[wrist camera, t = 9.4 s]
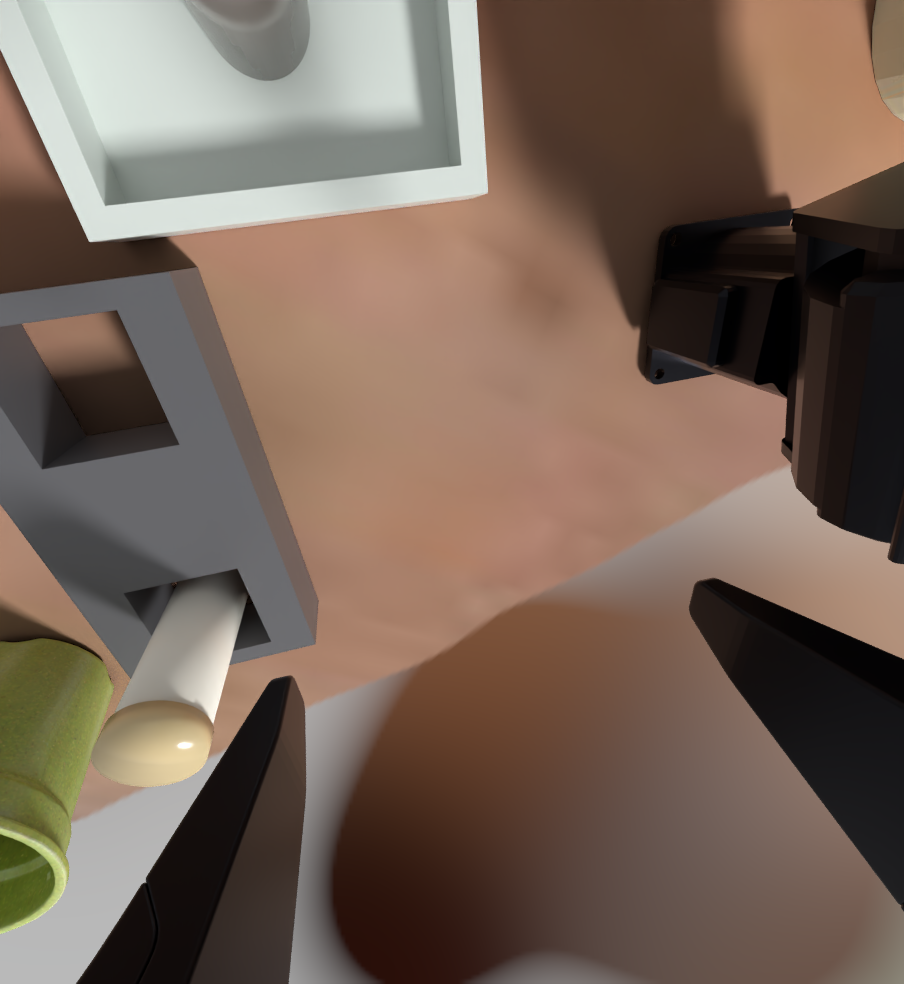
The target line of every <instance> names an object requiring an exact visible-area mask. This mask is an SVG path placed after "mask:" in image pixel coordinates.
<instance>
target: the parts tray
mask: <svg viewBox="0 0 904 984" xmlns="http://www.w3.org/2000/svg"><path fill="white" fill-rule="evenodd" d="M307 1H308V8H309V15H310V36H309V43H308V46H307V50H306V53H305V55H304V57H303V59H302V61H301V62H300V64H299V65H298V67H297V68H296V69H295V70H294V71H293V72H292V73H290V74H289V75H287V76H286V77H284V78H281V79H278V80H273V81H263V80H257V79H254V78H251V77H249V76H246V75H244V74H242V73H241V72H239V71H238V70H236V69H235V68H234V67H232V66H231V65H230V64H229V63H228V62H227V61H226V60H225V59H224V58H223V57H222V56H221V55H220V53H219V52H218V51H217V50H216V48H215V47H214V45H213V44H212V42H211V41H210V39H209V38H208V36H207V35H206V33H205V32H204V30H203V29H202V27H201V26H200V24H199V23H198V21H197V20H196V18H195V16H194V15H193V13H192V12H191V10H190V9H189V7H188V6H187V4H186V3H185V1H184V0H0V50H1V52H2V54H3V56H4V58H5V60H6V63H7V65H8V67H9V69H10V71H11V73H12V76H13V78H14V80H15V82H16V84H17V86H18V89H19V91H20V93H21V95H22V97H23V99H24V102H25V104H26V106H27V108H28V110H29V112H30V115H31V117H32V119H33V121H34V123H35V125H36V128H37V130H38V132H39V134H40V136H41V138H42V141H43V143H44V145H45V147H46V149H47V151H48V154H49V156H50V158H51V160H52V162H53V164H54V167H55V169H56V171H57V173H58V175H59V177H60V180H61V182H62V184H63V186H64V188H65V190H66V193H67V195H68V197H69V199H70V201H71V203H72V206H73V208H74V210H75V212H76V214H77V216H78V219H79V221H80V223H81V225H82V227H83V229H84V232H85V234H86V236H87V238H88V240H89V242H128V241H136V240H144V239H152V238H160V237H168V236H176V235H184V234H192V233H200V232H209V231H217V230H225V229H233V228H241V227H249V226H257V225H265V224H273V223H281V222H289V221H297V220H305V219H313V218H321V217H329V216H338V215H346V214H354V213H362V212H370V211H378V210H386V209H394V208H402V207H410V206H418V205H426V204H434V203H442V202H450V201H459V200H467V199H472V198H475V197H478V196H481V195H484V194H487V193H488V185H487V168H486V152H485V135H484V118H483V102H482V85H481V68H480V52H479V35H478V19H477V2H476V0H307Z"/></svg>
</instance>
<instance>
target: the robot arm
mask: <svg viewBox="0 0 904 984" xmlns="http://www.w3.org/2000/svg"><path fill="white" fill-rule="evenodd" d="M792 218H793V219H792ZM791 219H792V224H791V226H790V221H791ZM673 234H675V235H676V240H675V242H674V244H673V245H671V241H670V240H671V237H672V235H673ZM647 344H648V348H647V357H646V366H645V378H646V380H647V381H649V382H651V383H653V384H663V383H668V382H674V381H679V380H684V379H689V378H695V377H700V376H705V375H711V374H718V375H721V376H724V377H727V378H729V379H732V380H735V381H738V382H741V383H744V384H746V385H749V386H752V387H755V388H758V389H761V390H764V391H766V392H769V393H772V394H775V395H778V396H781V397H784V398H786V399H787V413H786V431H785V438H783V439H782V446H781V452H782V454H783V455H784V456H785V457H786V458H787V459H788V460H789V461H790V462H791V464H792V466H791V472H792V475H793V478H794V482H795V485H796V488H797V489H798V490H799V491H800V492H802V494H803V495H804V496H805V497H806V498H807V499H808V500H809V501H810V502H811V503H812V504H813V505H814V506H816V507H817V515H818V516H819V517H820V518H822V519H824V520H826V521H827V522H829V523H831V524H833V525H835V526H837V527H839V528H841V529H844V530H846V531H849V532H852V533H855V534H858V535H861V536H864V537H867V538H870V539H873V540H876V541H880V542H885V543H890V544H891V545H890V549H889V553H888V559H889V560H891V561H892V562H894V563H898V564H904V162H903V163H901V164H898V165H896V166H894V167H891V168H889V169H887V170H885V171H882V172H880V173H878V174H876V175H873V176H871V177H869V178H867V179H864V180H862V181H860V182H858V183H855V184H853V185H851V186H849V187H846V188H844V189H842V190H840V191H837V192H835V193H833V194H830V195H828V196H826V197H824V198H821V199H819V200H817V201H815V202H812V203H810V204H808V205H806V206H803V207H801V208H795V209H786V210H779V211H771V212H764V213H757V214H750V215H743V216H736V217H729V218H721V219H714V220H707V221H700V222H693V223H686V224H679V225H672V226H669V227H667V228H666V229H665V230H664V231H663V232H662V234H661V236H660V239H659V246H658V255H657V264H656V273H655V283H654V285H653V288H652V297H651V307H650V316H649V325H648V335H647ZM658 369H659V373H658V375H657V376H654V375H655V372H656V371H657V370H658ZM689 611H690V615H691V617H692V619H693V621H694V622H695V624H696V626H697V627H698V629H699V630H700V632H701V634H702V635H703V637H704V639H705V640H706V642H707V644H708V645H709V647H710V648H711V650H712V652H713V653H714V655H715V656H716V658H717V660H718V661H719V663H720V665H721V666H722V668H723V669H724V671H725V672H726V674H727V675H728V677H729V678H730V680H731V681H732V683H733V684H734V685H735V687H736V688H737V690H738V691H739V692H740V694H741V695H742V696H743V697H744V699H745V700H746V702H747V703H748V704H749V706H750V707H751V708H752V709H753V711H754V712H755V713H756V715H757V716H758V717H759V719H760V720H761V721H762V723H763V724H764V725H765V727H766V728H767V729H768V731H769V732H770V733H771V735H772V736H773V737H774V739H775V740H776V741H777V742H778V744H779V745H780V747H781V748H782V749H783V751H784V752H785V753H786V755H787V756H788V757H789V759H790V760H791V761H792V763H793V764H794V765H795V767H796V768H797V769H798V771H799V772H800V773H801V775H802V776H803V777H804V778H805V780H806V781H807V783H808V784H809V785H810V787H811V788H812V789H813V791H814V792H815V793H816V795H817V796H818V797H819V798H820V800H821V801H822V803H823V804H824V805H825V807H826V808H827V809H828V810H829V812H830V813H831V814H832V816H833V817H834V819H835V820H836V821H837V823H838V824H839V825H840V827H841V828H842V829H843V831H844V832H845V833H846V835H847V836H848V837H849V839H850V840H851V841H852V843H853V844H854V845H855V847H856V848H857V849H858V851H859V852H860V853H861V855H862V856H863V857H864V858H865V860H866V861H867V862H868V864H869V865H870V866H871V868H872V869H873V871H874V872H875V873H876V875H877V876H878V877H879V879H880V880H881V881H882V882H883V884H884V885H885V886H886V888H887V889H888V891H889V892H890V893H891V895H892V896H893V897H894V899H895V900H896V901H897V902H898V904H900V905H901V908H902V910H903V911H904V659H902V658H900V657H897V656H895V655H893V654H890V653H888V652H885V651H883V650H881V649H879V648H876V647H874V646H872V645H869V644H867V643H865V642H862V641H860V640H858V639H856V638H853V637H851V636H849V635H846V634H844V633H842V632H839V631H837V630H835V629H832V628H830V627H828V626H826V625H823V624H821V623H818V622H816V621H814V620H812V619H809V618H807V617H805V616H802V615H800V614H798V613H795V612H793V611H791V610H788V609H786V608H784V607H781V606H779V605H777V604H775V603H772V602H770V601H768V600H765V599H763V598H761V597H758V596H756V595H754V594H751V593H749V592H747V591H745V590H742V589H740V588H738V587H735V586H733V585H730V584H728V583H726V582H723V581H721V580H719V579H716V578H709V579H704V580H700V581H697V582H696V583H695V585H694V588H693V593H692V597H691V601H690V605H689ZM305 738H306V737H305V706H304V701H303V698H302V696H301V693H300V691H299V688H298V686H297V683H296V681H295V679H294V677H293V676H285V677H280V678H276V679H273V680H271V681H270V682H269V684H268V685H267V687H266V688H265V690H264V692H263V693H262V695H261V696H260V698H259V699H258V701H257V703H256V704H255V706H254V707H253V709H252V711H251V712H250V714H249V715H248V717H247V718H246V720H245V722H244V723H243V725H242V726H241V728H240V730H239V731H238V733H237V734H236V736H235V737H234V739H233V741H232V742H231V744H230V745H229V747H228V749H227V750H226V752H225V753H224V755H223V757H222V758H221V760H220V761H219V763H218V764H217V766H216V768H215V769H214V771H213V772H212V774H211V776H210V777H209V779H208V780H207V782H206V783H205V785H204V787H203V788H202V790H201V791H200V793H199V795H198V796H197V798H196V799H195V801H194V802H193V804H192V806H191V807H190V809H189V810H188V812H187V814H186V815H185V817H184V818H183V820H182V822H181V823H180V825H179V827H178V828H177V829H176V831H175V833H174V834H173V836H172V837H171V839H170V841H169V842H168V844H167V845H166V847H165V849H164V850H163V852H162V853H161V855H160V856H159V858H158V860H157V861H156V863H155V864H154V866H153V867H152V869H151V871H150V872H149V874H148V875H147V877H146V883H143V884H142V885H141V886H140V888H139V889H138V891H137V892H136V894H135V896H134V897H133V899H132V900H131V902H130V904H129V905H128V907H127V908H126V910H125V911H124V913H123V915H122V916H121V918H120V919H119V921H118V922H117V924H116V925H115V927H114V928H113V930H112V931H111V933H110V935H109V936H108V937H107V939H106V941H105V942H104V944H103V945H102V947H101V948H100V950H99V951H98V953H97V954H96V956H95V957H94V959H93V960H92V962H91V963H90V965H89V966H88V967H87V969H86V970H85V972H84V973H83V974H82V976H81V977H80V979H79V980H78V982H77V983H76V984H288V982H289V973H290V962H291V952H292V941H293V930H294V919H295V908H296V898H297V886H298V876H299V865H300V854H301V843H302V833H303V822H304V811H305V799H306V739H305Z"/></svg>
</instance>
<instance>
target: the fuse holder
mask: <svg viewBox="0 0 904 984" xmlns="http://www.w3.org/2000/svg"><path fill="white" fill-rule="evenodd" d="M114 310H117V311H118V313H119V316H120V318H121V320H122V322H123V324H124V326H125V329H126V331H127V333H128V335H129V337H130V339H131V341H132V344H133V346H134V348H135V350H136V352H137V354H138V356H139V359H140V361H141V363H142V365H143V367H144V369H145V371H146V374H147V376H148V378H149V380H150V382H151V384H152V387H153V389H154V391H155V393H156V395H157V397H158V399H159V402H160V404H161V406H162V408H163V410H164V412H165V414H166V417H167V419H168V421H169V422H166V423H160V424H154V425H148V426H143V427H137V428H131V429H125V430H120V431H114V432H108V433H102V434H97V435H91V436H86V435H85V434H84V432H83V430H82V428H81V427H80V425H79V423H78V422H77V420H76V418H75V416H74V415H73V413H72V411H71V409H70V408H69V406H68V404H67V402H66V401H65V399H64V397H63V396H62V394H61V392H60V390H59V389H58V387H57V385H56V383H55V382H54V380H53V378H52V376H51V375H50V373H49V371H48V370H47V368H46V366H45V364H44V363H43V361H42V359H41V357H40V356H39V354H38V352H37V350H36V349H35V347H34V345H33V344H32V342H31V340H30V338H29V337H28V335H27V333H26V331H25V330H24V328H23V326H22V324H23V323H30V322H37V321H44V320H51V319H58V318H65V317H72V316H79V315H86V314H93V313H100V312H107V311H114ZM0 504H1V506H2V507H3V508H4V510H5V511H6V512H7V514H8V515H9V516H10V518H11V519H12V520H13V522H14V523H15V525H16V526H17V527H18V529H19V530H20V531H21V533H22V534H23V535H24V537H25V538H26V539H27V541H28V542H29V543H30V545H31V546H32V547H33V549H34V550H35V551H36V553H37V554H38V555H39V557H40V558H41V559H42V561H43V562H44V563H45V565H46V566H47V567H48V569H49V570H50V571H51V573H52V574H53V575H54V577H55V578H56V579H57V581H58V582H59V583H60V585H61V586H62V587H63V589H64V590H65V592H66V593H67V594H68V596H69V597H70V598H71V600H72V601H73V602H74V604H75V605H76V606H77V608H78V609H79V610H80V612H81V613H82V614H83V616H84V617H85V618H86V620H87V621H88V622H89V624H90V625H91V626H92V628H93V629H94V630H95V632H96V633H97V634H98V636H99V637H100V638H101V640H102V641H103V642H104V644H105V645H106V646H107V648H108V649H109V650H110V652H111V653H112V655H113V656H114V657H115V659H116V660H117V661H118V663H119V664H120V665H121V667H122V668H123V669H124V671H125V672H126V673H127V675H128V676H129V677H130V679H131V678H132V676H133V674H134V672H135V670H136V667H137V665H138V663H139V661H140V659H141V657H142V655H143V653H144V651H145V649H146V647H147V645H148V643H149V641H150V639H151V637H152V635H153V633H154V631H155V628H156V626H157V624H158V622H159V620H160V618H161V616H162V614H163V612H164V610H165V608H166V606H167V604H168V602H169V600H170V598H171V596H172V594H173V592H174V588H173V586H172V584H171V583H173V582H178V581H182V580H187V579H192V578H196V577H201V576H205V575H210V574H215V573H219V572H224V571H229V570H233V569H238V571H239V573H240V575H241V578H242V580H243V582H244V584H245V586H246V588H247V591H248V593H249V595H250V597H251V599H252V601H253V604H249V605H245V608H244V612H243V615H242V619H241V623H240V626H239V630H238V634H237V638H236V641H235V645H234V649H233V652H232V656H231V660H230V663H229V665H231V664H236V663H240V662H244V661H248V660H252V659H256V658H260V657H264V656H269V655H273V654H277V653H281V652H285V651H289V650H293V649H297V648H302V647H306V646H310V645H314V644H316V629H317V614H318V598H317V595H316V593H315V590H314V587H313V584H312V582H311V579H310V576H309V573H308V571H307V568H306V565H305V562H304V560H303V557H302V554H301V551H300V549H299V546H298V543H297V540H296V537H295V535H294V532H293V529H292V526H291V524H290V521H289V518H288V515H287V513H286V510H285V507H284V504H283V502H282V499H281V496H280V493H279V491H278V488H277V485H276V482H275V480H274V477H273V474H272V471H271V469H270V466H269V463H268V460H267V457H266V455H265V452H264V449H263V446H262V444H261V441H260V438H259V435H258V433H257V430H256V427H255V424H254V422H253V419H252V416H251V413H250V411H249V408H248V405H247V402H246V400H245V397H244V394H243V391H242V389H241V386H240V383H239V380H238V377H237V375H236V372H235V369H234V366H233V364H232V361H231V358H230V355H229V353H228V350H227V347H226V344H225V342H224V339H223V336H222V333H221V331H220V328H219V325H218V322H217V320H216V317H215V314H214V311H213V309H212V306H211V303H210V300H209V297H208V295H207V292H206V289H205V286H204V284H203V281H202V278H201V275H200V273H199V270H198V267H195V268H187V269H180V270H172V271H165V272H157V273H149V274H142V275H134V276H127V277H119V278H112V279H104V280H97V281H89V282H82V283H74V284H67V285H59V286H52V287H44V288H37V289H29V290H22V291H14V292H7V293H0Z"/></svg>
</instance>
